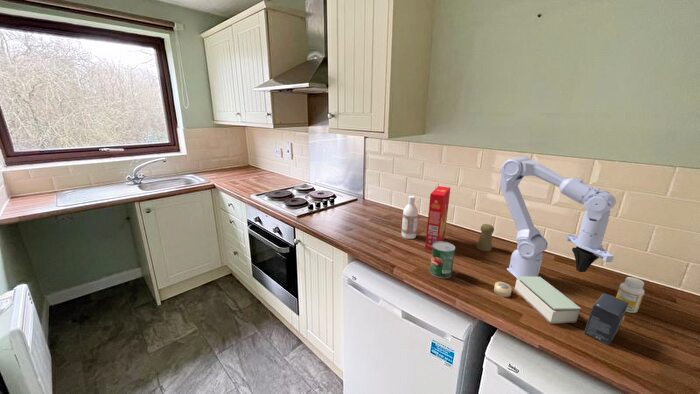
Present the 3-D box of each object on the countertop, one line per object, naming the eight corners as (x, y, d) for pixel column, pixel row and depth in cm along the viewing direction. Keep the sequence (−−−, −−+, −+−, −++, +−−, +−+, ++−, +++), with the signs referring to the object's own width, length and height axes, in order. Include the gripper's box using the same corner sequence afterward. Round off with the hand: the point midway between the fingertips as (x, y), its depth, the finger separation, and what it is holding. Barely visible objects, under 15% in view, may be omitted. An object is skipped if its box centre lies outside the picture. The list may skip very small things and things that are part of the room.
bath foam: (398, 234, 137) (401, 195, 131) (410, 232, 140) (413, 193, 134) (407, 240, 131) (410, 199, 125) (419, 237, 134) (422, 197, 128)
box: (609, 346, 73) (620, 316, 70) (583, 333, 77) (592, 304, 74) (619, 331, 78) (629, 302, 75) (594, 319, 83) (602, 291, 80)
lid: (517, 277, 94) (517, 276, 94) (539, 277, 95) (540, 276, 95) (554, 309, 79) (555, 308, 79) (580, 309, 80) (581, 308, 80)
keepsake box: (514, 289, 96) (516, 279, 95) (536, 288, 96) (539, 278, 95) (550, 323, 81) (553, 311, 79) (576, 322, 81) (579, 310, 80)
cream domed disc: (490, 288, 97) (491, 281, 96) (504, 287, 97) (505, 281, 96) (499, 297, 92) (500, 290, 91) (513, 296, 92) (515, 290, 92)
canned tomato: (425, 271, 106) (428, 245, 103) (437, 264, 111) (440, 239, 108) (444, 281, 100) (447, 253, 97) (456, 273, 105) (459, 246, 102)
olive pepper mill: (473, 246, 126) (477, 223, 123) (482, 244, 129) (486, 221, 126) (485, 252, 121) (489, 228, 118) (494, 249, 124) (498, 226, 120)
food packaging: (437, 251, 122) (443, 195, 114) (425, 248, 124) (430, 193, 117) (444, 238, 134) (450, 187, 127) (433, 236, 136) (438, 186, 129)
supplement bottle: (625, 301, 90) (634, 275, 88) (642, 313, 85) (653, 285, 82) (609, 302, 90) (618, 275, 87) (625, 313, 85) (635, 285, 82)
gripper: (628, 241, 79) (614, 283, 82) (583, 222, 92) (574, 259, 96) (604, 242, 78) (592, 284, 82) (563, 222, 92) (554, 259, 96)
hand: (580, 270), depth 89 cm, fingers closed
